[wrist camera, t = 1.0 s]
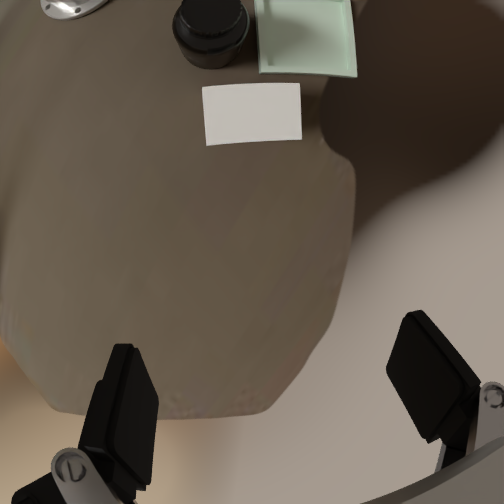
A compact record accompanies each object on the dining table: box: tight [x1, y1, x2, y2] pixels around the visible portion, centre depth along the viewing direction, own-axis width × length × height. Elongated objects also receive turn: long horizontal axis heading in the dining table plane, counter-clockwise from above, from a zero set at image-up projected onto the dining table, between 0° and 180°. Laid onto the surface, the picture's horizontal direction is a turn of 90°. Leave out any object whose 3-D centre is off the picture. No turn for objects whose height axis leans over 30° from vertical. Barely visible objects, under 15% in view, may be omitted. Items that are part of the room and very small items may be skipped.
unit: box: [202, 83, 302, 145], centre depth 26 cm, size 6×8×10 cm
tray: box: [254, 0, 357, 78], centre depth 26 cm, size 12×12×2 cm
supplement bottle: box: [172, 0, 249, 69], centre depth 21 cm, size 7×7×12 cm
